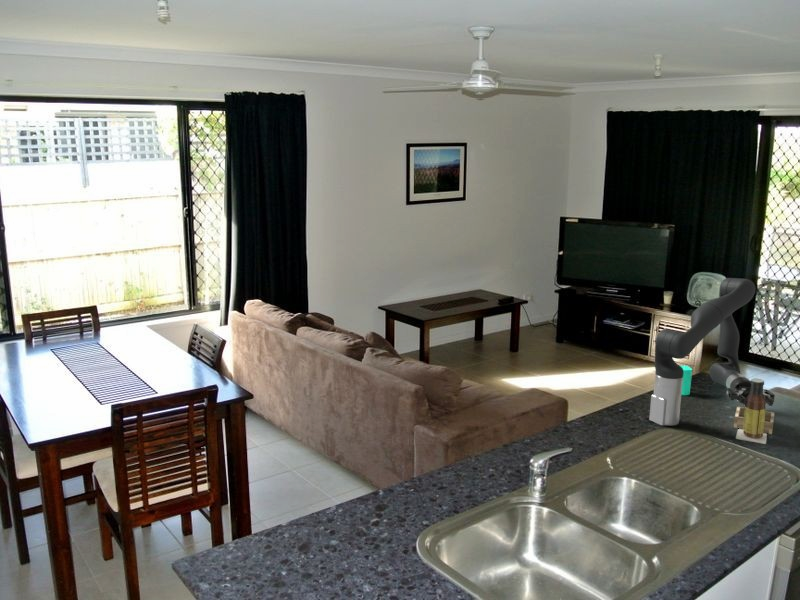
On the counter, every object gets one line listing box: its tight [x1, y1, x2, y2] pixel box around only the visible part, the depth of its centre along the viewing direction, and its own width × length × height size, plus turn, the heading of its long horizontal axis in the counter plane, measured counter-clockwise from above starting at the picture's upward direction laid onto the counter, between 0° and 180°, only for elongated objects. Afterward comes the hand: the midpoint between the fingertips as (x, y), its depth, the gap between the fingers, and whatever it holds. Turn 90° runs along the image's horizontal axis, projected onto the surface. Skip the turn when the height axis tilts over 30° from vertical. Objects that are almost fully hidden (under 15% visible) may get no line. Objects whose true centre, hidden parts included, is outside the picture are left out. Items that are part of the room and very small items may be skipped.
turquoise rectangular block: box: [680, 363, 693, 396], centre depth 284 cm, size 6×6×12 cm
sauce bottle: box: [742, 377, 767, 438], centre depth 239 cm, size 6×6×20 cm
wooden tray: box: [733, 406, 775, 435], centre depth 251 cm, size 12×12×4 cm
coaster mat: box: [735, 428, 768, 445], centre depth 241 cm, size 9×9×1 cm
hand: (758, 402), depth 236 cm, fingers open, 8 cm apart
